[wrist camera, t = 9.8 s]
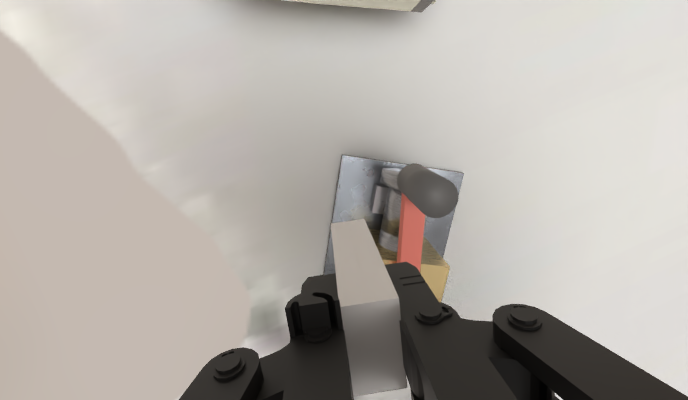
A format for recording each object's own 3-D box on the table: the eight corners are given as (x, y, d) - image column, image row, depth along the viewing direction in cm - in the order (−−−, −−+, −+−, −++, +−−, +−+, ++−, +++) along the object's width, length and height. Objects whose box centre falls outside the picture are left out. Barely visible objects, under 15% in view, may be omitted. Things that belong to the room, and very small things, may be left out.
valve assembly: (417, 346, 44) (443, 409, 35) (313, 337, 43) (312, 400, 33) (460, 172, 38) (506, 191, 29) (342, 154, 37) (349, 169, 27)
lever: (423, 325, 32) (447, 373, 26) (378, 326, 31) (392, 375, 25) (440, 164, 28) (472, 178, 22) (388, 163, 27) (407, 177, 21)
